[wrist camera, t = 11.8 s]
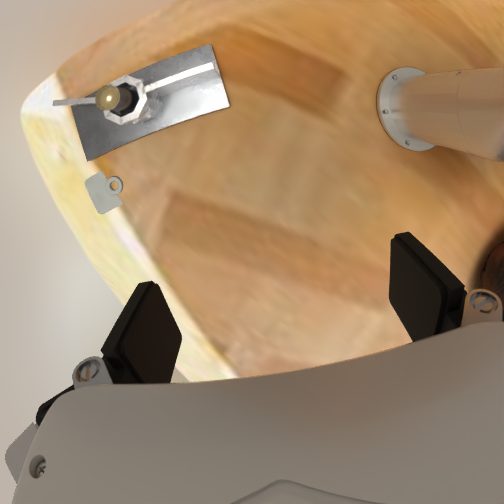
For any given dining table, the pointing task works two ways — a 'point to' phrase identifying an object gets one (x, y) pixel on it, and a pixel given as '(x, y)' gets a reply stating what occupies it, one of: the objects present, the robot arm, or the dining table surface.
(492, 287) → the bowl
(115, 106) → the hinge pin
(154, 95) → the hinge leaf
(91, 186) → the mounting bracket
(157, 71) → the hinge stand
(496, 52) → the dining table surface
